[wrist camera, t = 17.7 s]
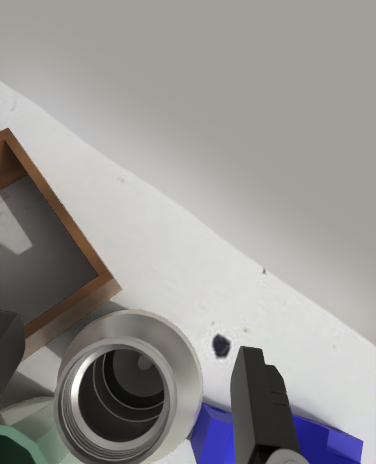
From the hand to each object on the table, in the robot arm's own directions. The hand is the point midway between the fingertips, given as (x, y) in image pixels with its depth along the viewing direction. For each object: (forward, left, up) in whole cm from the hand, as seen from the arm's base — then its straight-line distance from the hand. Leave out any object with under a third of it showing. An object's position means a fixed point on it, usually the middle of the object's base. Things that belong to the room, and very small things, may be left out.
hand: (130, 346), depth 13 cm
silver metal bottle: (+1, -1, -18) cm, 18 cm away
